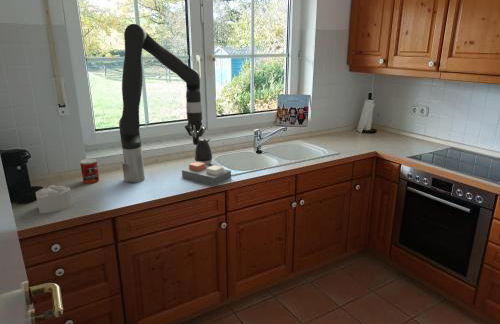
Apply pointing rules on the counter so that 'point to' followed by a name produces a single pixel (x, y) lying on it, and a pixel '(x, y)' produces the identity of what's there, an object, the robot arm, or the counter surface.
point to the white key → (215, 170)
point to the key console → (206, 176)
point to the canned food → (89, 171)
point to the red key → (197, 166)
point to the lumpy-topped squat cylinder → (53, 198)
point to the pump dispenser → (203, 152)
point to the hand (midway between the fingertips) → (196, 144)
